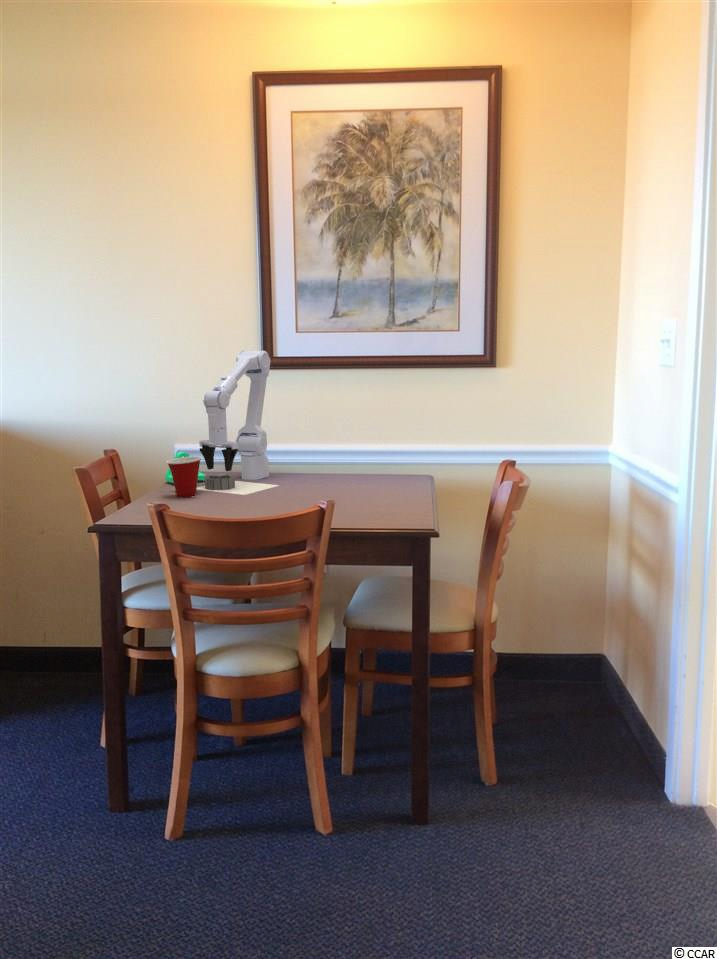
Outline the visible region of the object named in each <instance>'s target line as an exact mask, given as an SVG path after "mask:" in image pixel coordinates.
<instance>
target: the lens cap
mask: <svg viewBox="0 0 717 959" xmlns="http://www.w3.org/2000/svg"><path fill="white" fill-rule="evenodd" d="M211 475H212V478H213V479H222V478H228V476H227V475H228V474H227V473H215V474H211Z"/></svg>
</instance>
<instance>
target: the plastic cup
mask: <svg viewBox="0 0 717 959" xmlns="http://www.w3.org/2000/svg"><path fill="white" fill-rule="evenodd" d="M201 460H202V457H201V456H190V457H184V456H183V457H182V458H176V459H174V458H172V459H168V460H166V464H167V465H168V469H169V468H170V470H171V474H172V478H173V482H174V483H173V486H174V489H175V494H176V496H177V498H181V497H187V498H193V497H192V496H194V497H196V494H197V490H196V489H197V487H198V483H199V482H198V481H199V480H198V472H200V463H201Z"/></svg>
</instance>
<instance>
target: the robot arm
mask: <svg viewBox="0 0 717 959" xmlns="http://www.w3.org/2000/svg"><path fill="white" fill-rule="evenodd" d="M235 361H236V362H235V364H234V366H233V367H232V369H231V370H230V372H229V374H225V375H222V376H221V378H220V380H219V381H218V382H217V383H216V385H215V386H214V387H213V388H212V389H211V390H208V391H207V392H205V394H204V395H203V396H204V397H203V400H202V401H203V402H202V403H203V405H204V407H205V413H206V414H207V421H208V422H207V423H208V424H207V426H208V439H202V440H199V447H200V448H199V452H200V453H201V455H202V457H203V459H204V462H205V464H206V467H207V470H213V469H215V468H214V466H215V463H214V460H215V459H214V458H215V451H216V449H217V448H218V449H221V453H222V456H223V459H224V470H225V472H231V471H232V469H233V463H234V460H235V457H236V455H237V453H238V455H240V463H241V466H240V467H241V468H240V469H241V480H245V481H256V480H258V481H259V480H262V479H263V478H269V477H270V470H269V468H270V467H269V459H268V456H267V455H266V454H265V453H266V451H267V448H268V441H267V439H268V438H267V436H268V434H267V432H266V431H265V430H264V429H263V428H262V427H261V426H262V425H261V424H262V417H263V410H264V402H265V394H266V387H267V378H268V377H269V375H270V370H271V369H270V368H271V361H272V360H271V358H270V356H269V353H268V352H267V351H266V350H254V351H253V350H251V351H250V350H240V351H239V353H238V354H237V355H236V360H235ZM244 375H245V376H246V377H248V378H249V379H250V386H249V393H248V401H247V408H246V416H245V424H244V426H243V427H241V428H240V429H238V431H237V432H238V433H237V436H236V438H235V441H229V440H228V433H227V432H228V431H227V408H228V407H229V405H230V400H231V397H232V395H233V394H234V392H235V391H236V389H237V388H238V386H239V384H238V382H239V380H240V379H241V378H242V377H243V376H244Z"/></svg>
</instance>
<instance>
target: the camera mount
mask: <svg viewBox="0 0 717 959" xmlns="http://www.w3.org/2000/svg"><path fill="white" fill-rule="evenodd" d="M182 457H191V455H190V454H189V453H187V452H185V451H179V452H177V453H176V454H175V455H174V458H173V459H176V458H182ZM206 476H207V475H206V474H205V473H202V472H200V471H199V472H198V481H205V477H206ZM164 479H165V481H166V482H169V483H172V484H174V482H173V478H172V474H171V470H170V468H169V467H168V469H167V471H166V472H165V475H164Z"/></svg>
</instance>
